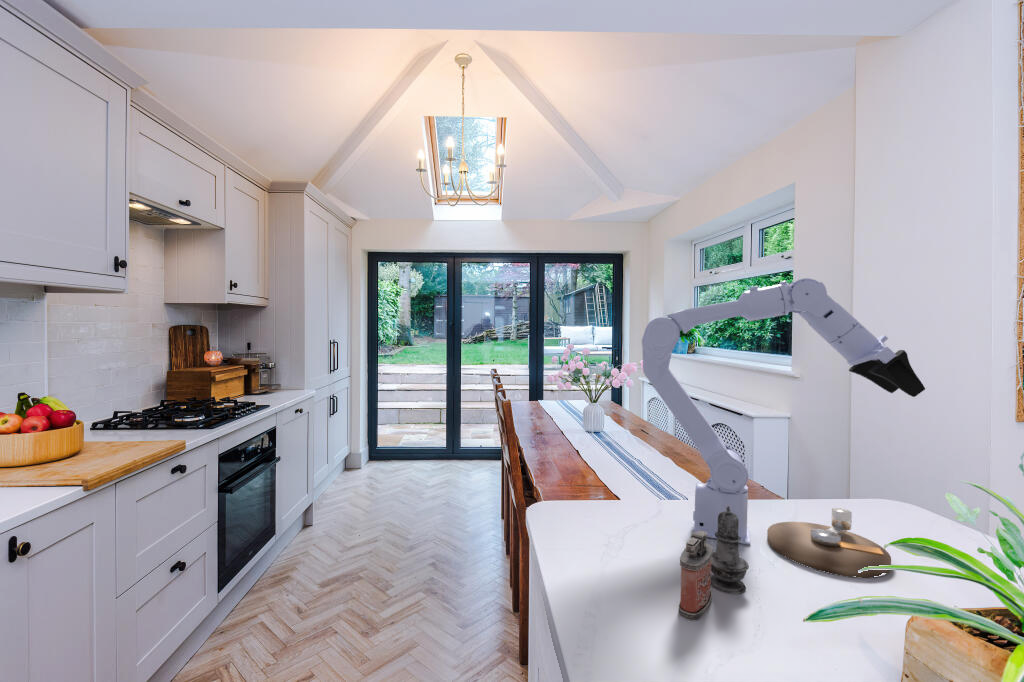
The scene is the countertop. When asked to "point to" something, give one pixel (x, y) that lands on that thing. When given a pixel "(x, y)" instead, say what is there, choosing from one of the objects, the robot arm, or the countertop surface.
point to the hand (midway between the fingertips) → (907, 391)
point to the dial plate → (827, 550)
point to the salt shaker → (728, 556)
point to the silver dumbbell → (834, 528)
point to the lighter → (696, 577)
